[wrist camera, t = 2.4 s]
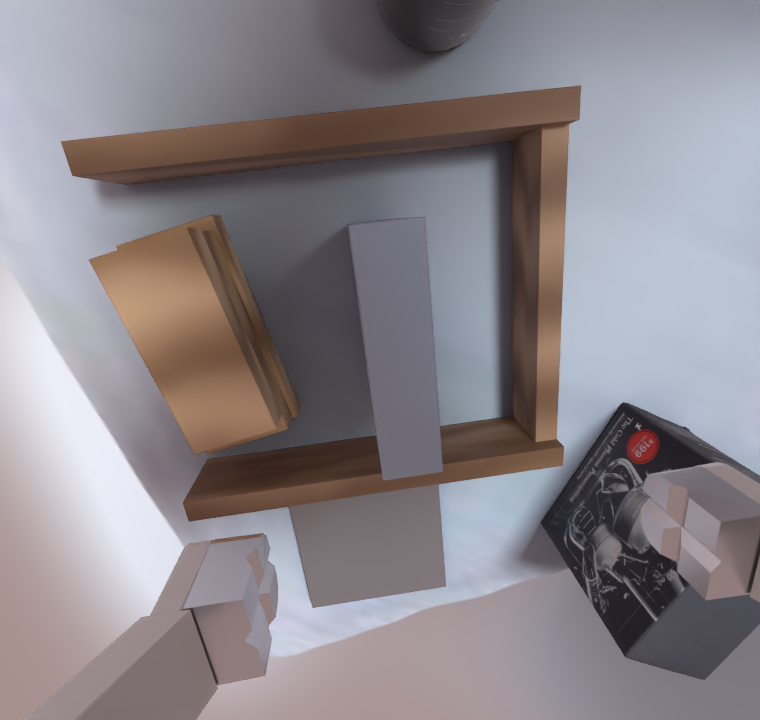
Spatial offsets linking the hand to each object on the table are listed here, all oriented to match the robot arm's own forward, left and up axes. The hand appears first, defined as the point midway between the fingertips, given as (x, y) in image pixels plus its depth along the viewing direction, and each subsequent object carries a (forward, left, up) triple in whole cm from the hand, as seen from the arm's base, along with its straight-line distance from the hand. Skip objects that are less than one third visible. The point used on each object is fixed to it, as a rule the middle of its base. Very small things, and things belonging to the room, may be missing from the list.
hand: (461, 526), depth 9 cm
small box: (+17, +18, -21) cm, 33 cm away
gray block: (0, 0, -21) cm, 21 cm away
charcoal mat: (+19, -3, -21) cm, 29 cm away
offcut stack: (0, -11, -21) cm, 24 cm away
